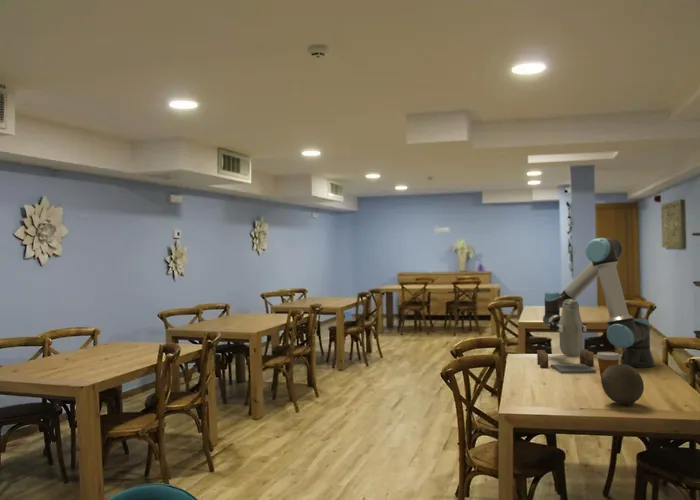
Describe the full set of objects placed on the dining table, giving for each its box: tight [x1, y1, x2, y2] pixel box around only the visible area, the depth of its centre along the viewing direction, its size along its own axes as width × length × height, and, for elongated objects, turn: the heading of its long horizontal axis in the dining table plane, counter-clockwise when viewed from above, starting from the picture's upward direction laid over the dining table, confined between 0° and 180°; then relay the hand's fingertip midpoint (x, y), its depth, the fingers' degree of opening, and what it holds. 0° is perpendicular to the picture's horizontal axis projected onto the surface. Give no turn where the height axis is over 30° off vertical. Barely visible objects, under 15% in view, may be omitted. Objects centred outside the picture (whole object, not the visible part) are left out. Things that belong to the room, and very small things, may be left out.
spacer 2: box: [539, 352, 550, 369], centre depth 285 cm, size 4×4×7 cm
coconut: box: [600, 363, 645, 406], centre depth 214 cm, size 14×14×15 cm
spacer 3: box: [579, 348, 589, 365], centre depth 293 cm, size 4×4×7 cm
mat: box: [550, 363, 597, 375], centre depth 278 cm, size 16×16×1 cm
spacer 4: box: [584, 350, 595, 368], centre depth 286 cm, size 4×4×7 cm
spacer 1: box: [536, 349, 546, 366], centre depth 293 cm, size 4×4×7 cm
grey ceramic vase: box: [558, 299, 583, 358], centre depth 278 cm, size 10×10×28 cm
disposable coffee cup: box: [596, 351, 621, 378], centre depth 253 cm, size 10×10×12 cm
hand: (573, 329), depth 274 cm, fingers closed on grey ceramic vase, 10 cm apart
